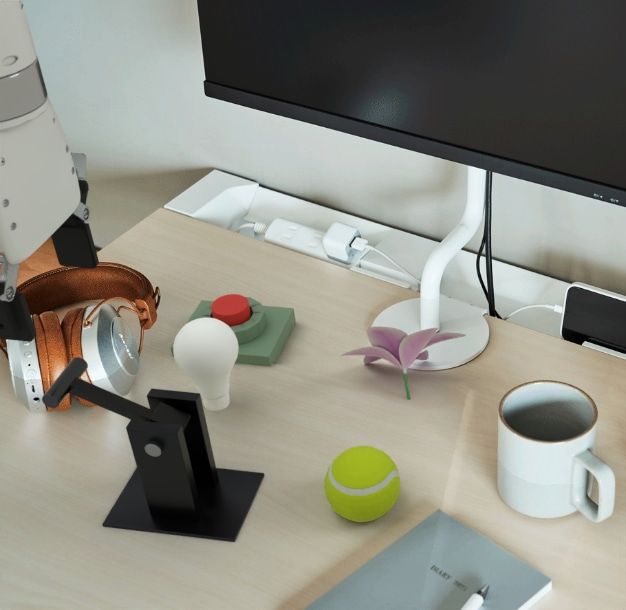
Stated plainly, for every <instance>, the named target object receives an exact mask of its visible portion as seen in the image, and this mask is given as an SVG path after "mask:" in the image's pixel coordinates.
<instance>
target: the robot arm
mask: <svg viewBox="0 0 626 610" xmlns="http://www.w3.org/2000/svg"><path fill="white" fill-rule="evenodd" d="M43 75H44V74H43V71H42V69H41V64H40V61H39V57H38V53H37V49H36V46H35V42H34V38H33V34H32V31H31V27H30V23H29V20H28V17H27V13H26V8H25V6H24V2H23V0H0V265H1V270H0V340H9V341H18V342H29V343H30V342H33V340H34V339H35V338H36V337H37V330H36V327H35V324H34V321H33V318H32V315H31V312H30V309H29V306H28V302H27V300H26V297H25V295H24V293H23V292H17V286H18V285H17V284H18V278H19V270H20V265H21V263H22V262H24V261H26V260H27V259H28V258H29V257H30V256H32V255H33V254H34V253H35V252H36V251H37V250H38V249H39V248H40V247H41V246H43V244H45V242H46V241H47V240H48V239H49V238H51V242H52V245H53V247H54V251H55V254H56V258H57V261H58V264H59V265H60V266H62V267H68V268H77V269H78V268H80V269H90V270H91V269H92V270H93V269H96V268H97V267H98V266H99V264H100V261H99V256H98V253H97V249H96V245H95V242H94V238H93V235H92V230H91V227H90V223H88V221H89V220H90V218H91V209H90V207H89V206H87V205H86V204H87V199H88V194H89V191H90V188H89V183H88V181H87V180H86V179H87V155H86V154H85V153H83V152H71V150H70V147H69V144H68V141H67V138H66V135H65V133H64V130H63V127H62V125H61V122H60V120H59V118H58V115H57V113H56V110H55V108H54V105H53V103H52V101H51V99H50V97H49V94H48V90H47V87H46V83H45V79H44V76H43ZM2 253H3V254H2Z"/></svg>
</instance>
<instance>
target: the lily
mask: <svg viewBox="0 0 626 610" xmlns="http://www.w3.org/2000/svg"><path fill="white" fill-rule="evenodd" d="M438 329H439V328H438V327H430V328H425V329H422V330H418V331H416V332H413V333H410V334H408V333H407V332H405V331H404V330H402V329H399V328H395V327H390V326H379V325H378V326H369V327H367V328H366V335H367V338H368V341H369V343H370V344H371V346H364V347H360V348H355V349H353V350H352V349H351V350H349V351H346V352H344V353H341V355H340V356H341V357H345V356H348V357H349V356H364V357H363V360H362V362H363V364H364V365H367V364H371V363H373V362H376V361H380V360H385V361H388V362H390V363H392V364H394V365H395V366H397V367H398V368H400V369H401V370H402V375H403V380H404V381H403V382H404V388H405V393H406V399H407V401H410V400H411V395H410V389H409V383H408V374H407V372H408V369H409V367H410V366H411V365H412V364H413V363H414V362H415V361H416V360H418V361H423V360H427V359H428V360H429V351H428V350H427V349H426V348H428V347H430V346H433V345H436V344H438V343H441V342H446V341H450V340H454V339H459V338H463V337H466V336H467V334H465V333H459V332H447V331H446V332H445V331H444V332H443V331H442V332H437V331H438ZM428 360H427V361H428Z"/></svg>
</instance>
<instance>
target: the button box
mask: <svg viewBox="0 0 626 610" xmlns="http://www.w3.org/2000/svg"><path fill="white" fill-rule="evenodd" d="M245 297H246V298H247V299H248V301H249V307H250V313H251V316H250V318H249V320H248V321H246V322H245V323H243V324H241V325H236V326H232V327H230V328H231V329H232V330H233V332H234V333H235V336H236V338H237V340H238V347H239V349H238V356H237V359H236V361H235V364H244V365H250V366H251V365H252V366H262V367H271V366H272V364H274V365H276V364H277V362H278V360H279V358H280V356H281V354H282V352H283V350H284V348H285V346H286V344H287V342H288V340H289V338H290V336H291V334H292V332H293V330H294V328H295V326H296V324H297V323H296V314H295V308H293V307H282V306H272V305H263V304H262V303H261V302H260V301H258V300H256V299H254V298H252V297H251V296H245ZM214 301H215V300H208V299H201V300H200V302H199V303H198V305H197V307H196V308H195V309H194V311H193V313H192V314H191V316H190V317H189V319H188V320H187V322H186V323H185V325H186V324H187V323H189V322H191V321H193V320H195V319H199V318H213V314H212V309H211V305H212V303H213V302H214ZM173 347H174V342H173V343H172V344H171V346H170V351H171V355H172V358H174V354H173Z"/></svg>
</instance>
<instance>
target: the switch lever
mask: <svg viewBox="0 0 626 610" xmlns="http://www.w3.org/2000/svg"><path fill="white" fill-rule="evenodd" d="M88 367H89V364H88V362H87V361H86V360H85V359H84V358H82V357H79V356H76V357H73V358H72V359H71V360H70V361H69V362H68V363H67V365H66V367H65V368H64V369H63V370H62V371H61V373H59V374H58V377H56V379H55V380H54V382H52V384H51V385H50V387H49V388H48V389H47V391H46V392H45V393H44V394H43V395H42V397H41V401H42V404H44V406H46V407H47V408H50V409H57V408H58V407H60V405H61V404H62V402H63V401H64V400H65V399H66V397H67V396H68V395H72V396H74V397H76V398H79V399H81V400H84V401H86V402H88V403H90V404H92V405H95V406H98V407H100V408H103V409H104V410H107V411H110V412H112V413H115V414H117V415H119V416H122V417H124V418H125V419H128V420H138V421H148V422H157V423H167V424H176V425H182V429H183V433H185V430H186V428H187V425H188V423H189V420H190V418H191V415H190V414H188V413H186V412H183V411H181V410H179V409H176V408H174V407H172V406H169V405H167V404H165V403H162V402H160V404H159V405H158V407H157V408H156V410H155V411H154V410H152V409H150V407H147V406H144V405H143V404H140V403H137V402H135V401H133V400H132V399H131V400H130V399H128V398H126V397H123V396H121V395H119V394H116V393H114V392H112V391H109V390H108V389H104V388H103V387H100V386H98V385H96V384H93V383H91V382H89V381H86V380H84V379H82V378H81V377H82V376H83V375H84V373H85V372H86V371H87V369H89V368H88Z"/></svg>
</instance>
